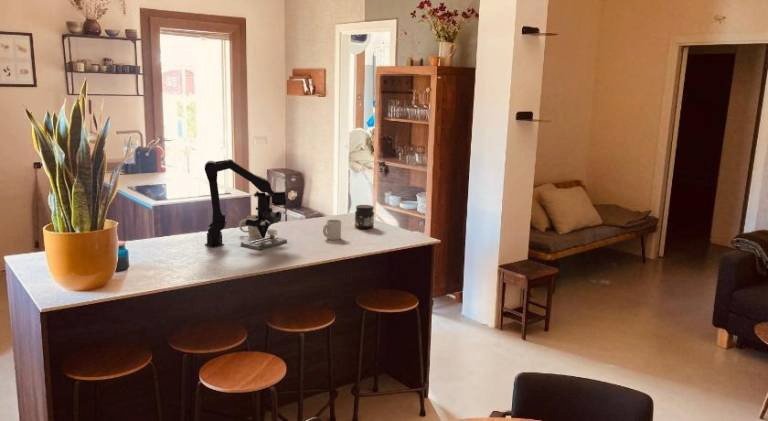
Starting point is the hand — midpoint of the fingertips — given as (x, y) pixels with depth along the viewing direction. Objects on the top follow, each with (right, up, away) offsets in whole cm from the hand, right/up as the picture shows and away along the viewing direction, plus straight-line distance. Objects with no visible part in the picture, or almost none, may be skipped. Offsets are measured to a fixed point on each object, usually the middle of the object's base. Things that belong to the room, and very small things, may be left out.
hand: (263, 237), depth 290 cm
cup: (+31, -1, +17) cm, 35 cm away
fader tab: (+3, -1, +5) cm, 6 cm away
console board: (0, -3, +1) cm, 3 cm away
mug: (-9, 0, +15) cm, 17 cm away
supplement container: (+47, +3, +43) cm, 64 cm away
